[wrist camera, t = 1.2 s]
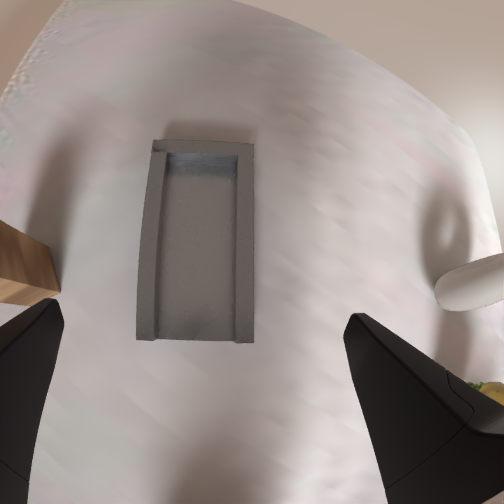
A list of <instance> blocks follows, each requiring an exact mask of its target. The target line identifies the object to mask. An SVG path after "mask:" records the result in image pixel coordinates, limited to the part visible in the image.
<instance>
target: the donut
mask: <svg viewBox="0 0 504 504" xmlns="http://www.w3.org/2000/svg"><path fill="white" fill-rule="evenodd" d="M435 298H436V301H437V303H438V304H439V305H440V306H441V307H442V308H444V309H446V310H450V311H467V310H474V309H478V308H482V307H485V306H488V305H491V304H494V303H497V302H499V301H501V300H503V299H504V253H501V254H496V255H492V256H489V257H486V258H482V259H479V260H476V261H473V262H471V263H468V264H465V265H462V266H460V267H458V268H455V269H453V270H451V271H449V272H447V273H445V274H443V275H442V276H441V277H440V278H439V279H438V281H437V282H436V285H435Z"/></svg>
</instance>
